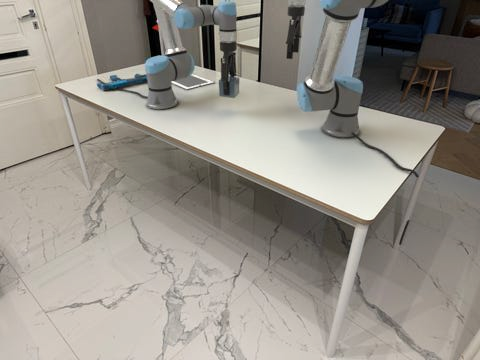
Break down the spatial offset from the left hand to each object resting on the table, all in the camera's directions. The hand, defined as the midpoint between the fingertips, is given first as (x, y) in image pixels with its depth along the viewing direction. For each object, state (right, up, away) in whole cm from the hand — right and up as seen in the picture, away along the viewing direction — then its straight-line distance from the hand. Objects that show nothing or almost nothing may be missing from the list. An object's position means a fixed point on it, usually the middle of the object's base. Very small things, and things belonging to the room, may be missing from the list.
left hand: (229, 92), depth 161 cm
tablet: (-29, +21, +52) cm, 63 cm away
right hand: (+30, +18, +2) cm, 35 cm away
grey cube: (0, -1, +1) cm, 1 cm away
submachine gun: (-66, +19, +48) cm, 83 cm away
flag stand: (-49, +41, +82) cm, 104 cm away
